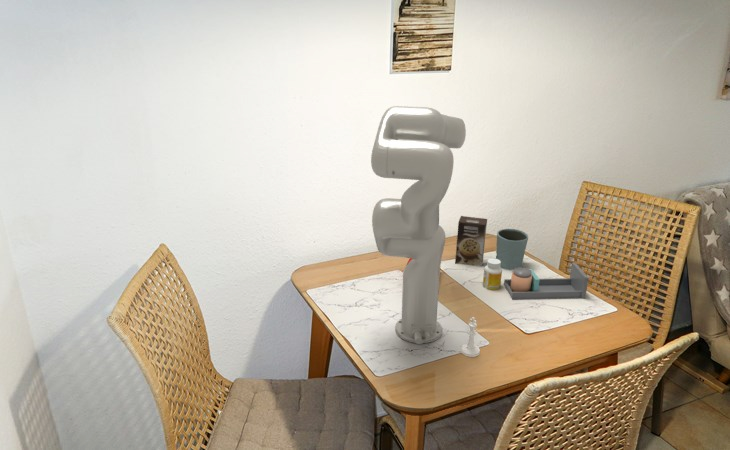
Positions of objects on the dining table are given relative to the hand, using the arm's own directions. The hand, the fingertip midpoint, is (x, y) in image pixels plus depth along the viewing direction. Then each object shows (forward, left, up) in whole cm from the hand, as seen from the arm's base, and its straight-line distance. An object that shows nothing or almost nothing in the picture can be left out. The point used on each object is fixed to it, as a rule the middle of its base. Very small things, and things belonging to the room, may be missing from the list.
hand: (431, 212), depth 168 cm
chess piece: (-37, -5, -24) cm, 45 cm away
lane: (-8, -34, -24) cm, 43 cm away
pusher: (-8, -31, -23) cm, 39 cm away
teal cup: (+11, -29, -24) cm, 40 cm away
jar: (-8, -27, -23) cm, 37 cm away
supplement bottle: (-4, -19, -24) cm, 31 cm away
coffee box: (+14, -16, -24) cm, 32 cm away
